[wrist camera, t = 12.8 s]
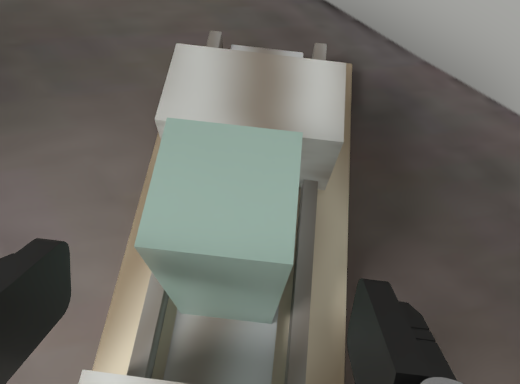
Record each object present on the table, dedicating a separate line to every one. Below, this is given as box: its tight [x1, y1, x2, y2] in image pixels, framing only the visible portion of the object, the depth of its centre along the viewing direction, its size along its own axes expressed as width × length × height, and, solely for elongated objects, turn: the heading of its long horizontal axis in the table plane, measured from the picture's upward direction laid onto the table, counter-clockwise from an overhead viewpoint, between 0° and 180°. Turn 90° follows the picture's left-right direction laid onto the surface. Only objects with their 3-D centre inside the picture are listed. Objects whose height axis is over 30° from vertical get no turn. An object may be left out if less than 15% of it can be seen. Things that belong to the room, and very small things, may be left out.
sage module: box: [134, 118, 303, 324], centre depth 17 cm, size 4×4×10 cm
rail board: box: [79, 31, 352, 384], centre depth 20 cm, size 12×32×7 cm, turn 173°
